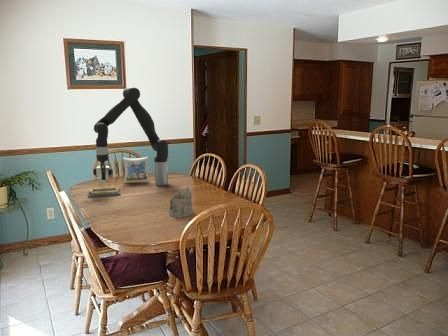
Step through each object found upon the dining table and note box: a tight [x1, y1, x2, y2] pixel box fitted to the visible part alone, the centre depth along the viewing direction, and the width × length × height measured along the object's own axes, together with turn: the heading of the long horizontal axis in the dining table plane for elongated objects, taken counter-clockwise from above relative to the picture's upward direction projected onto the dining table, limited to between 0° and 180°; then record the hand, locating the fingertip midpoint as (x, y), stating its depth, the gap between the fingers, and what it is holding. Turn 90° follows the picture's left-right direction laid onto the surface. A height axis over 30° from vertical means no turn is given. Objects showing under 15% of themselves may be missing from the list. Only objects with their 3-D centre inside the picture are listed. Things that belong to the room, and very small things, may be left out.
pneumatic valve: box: [92, 165, 114, 185], centre depth 251 cm, size 6×12×12 cm, turn 94°
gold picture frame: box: [87, 186, 122, 199], centre depth 253 cm, size 20×14×3 cm
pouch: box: [122, 155, 150, 184], centre depth 286 cm, size 8×19×20 cm, turn 101°
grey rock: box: [167, 185, 194, 218], centre depth 211 cm, size 16×16×15 cm
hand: (103, 178), depth 252 cm, fingers closed on pneumatic valve, 5 cm apart
